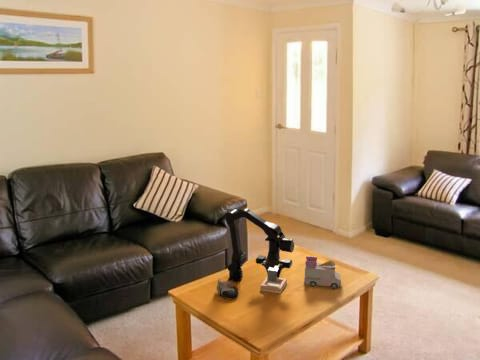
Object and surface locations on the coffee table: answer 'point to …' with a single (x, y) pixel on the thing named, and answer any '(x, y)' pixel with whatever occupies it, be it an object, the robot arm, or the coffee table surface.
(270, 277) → the grey metal box
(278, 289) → the square tray
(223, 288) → the caster wheel
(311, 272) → the toy vehicle
